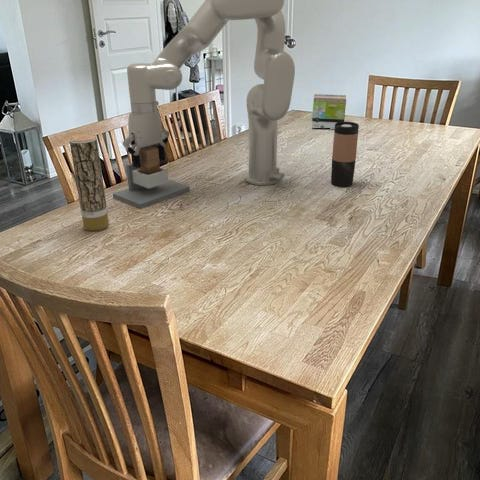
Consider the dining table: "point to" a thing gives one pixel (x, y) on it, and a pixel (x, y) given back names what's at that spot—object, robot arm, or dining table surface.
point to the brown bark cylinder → (89, 181)
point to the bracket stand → (148, 188)
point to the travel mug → (344, 153)
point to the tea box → (328, 110)
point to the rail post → (149, 160)
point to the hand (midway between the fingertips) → (149, 163)
